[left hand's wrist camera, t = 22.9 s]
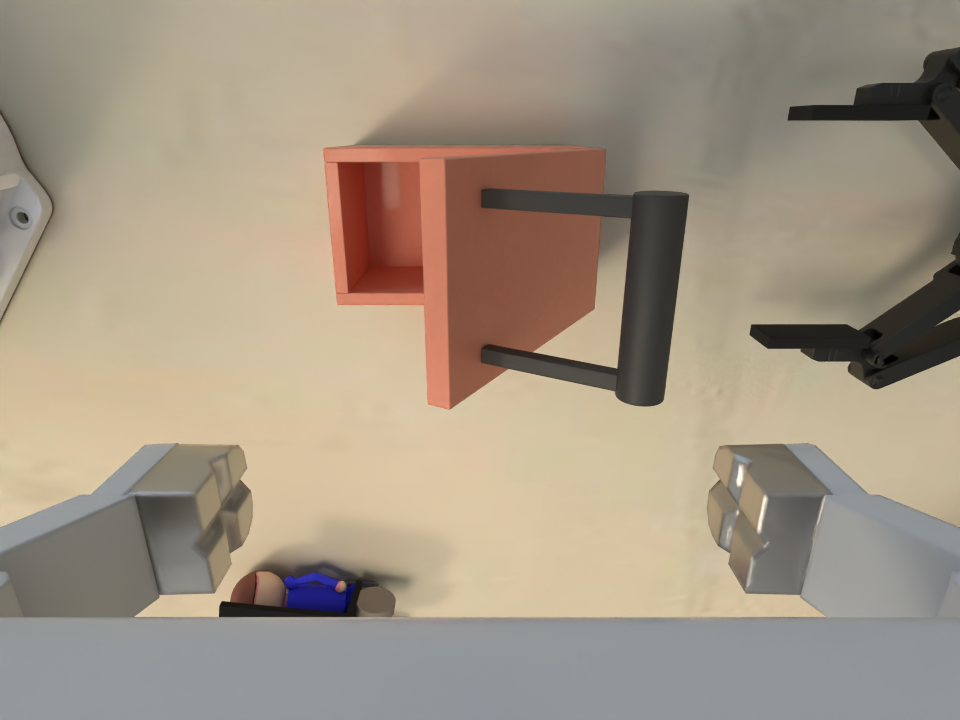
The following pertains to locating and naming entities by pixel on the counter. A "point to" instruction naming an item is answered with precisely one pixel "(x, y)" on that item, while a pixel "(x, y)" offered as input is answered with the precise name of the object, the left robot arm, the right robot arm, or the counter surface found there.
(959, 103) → the right robot arm
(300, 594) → the figurine character
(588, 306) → the lid
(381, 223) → the chest
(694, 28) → the counter surface
